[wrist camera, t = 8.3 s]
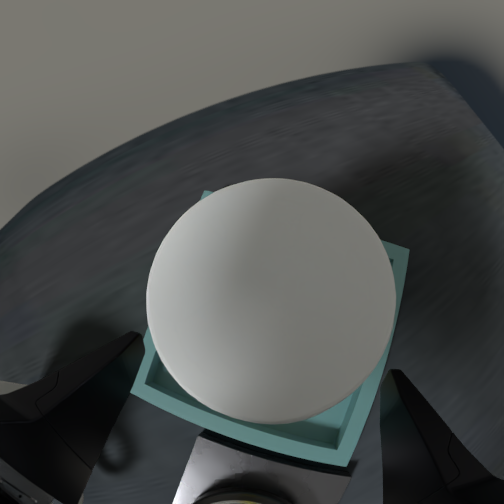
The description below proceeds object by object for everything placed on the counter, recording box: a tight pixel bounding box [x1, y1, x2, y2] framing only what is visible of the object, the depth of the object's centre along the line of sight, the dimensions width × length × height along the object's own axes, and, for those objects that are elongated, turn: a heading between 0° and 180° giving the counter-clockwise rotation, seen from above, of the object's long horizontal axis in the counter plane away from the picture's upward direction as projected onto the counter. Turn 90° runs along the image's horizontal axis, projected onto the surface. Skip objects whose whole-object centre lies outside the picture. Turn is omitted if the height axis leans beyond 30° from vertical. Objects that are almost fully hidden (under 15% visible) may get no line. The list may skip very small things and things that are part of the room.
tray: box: [130, 191, 410, 467], centre depth 17 cm, size 14×14×2 cm
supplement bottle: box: [147, 178, 396, 424], centre depth 11 cm, size 7×7×13 cm
